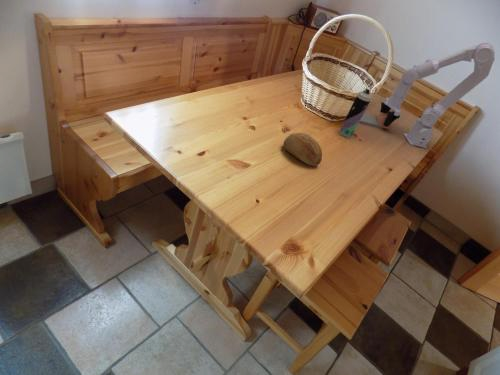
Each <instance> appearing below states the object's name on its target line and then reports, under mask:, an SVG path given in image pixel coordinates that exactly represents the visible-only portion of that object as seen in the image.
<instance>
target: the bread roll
mask: <svg viewBox="0 0 500 375" xmlns="http://www.w3.org/2000/svg"><path fill="white" fill-rule="evenodd" d="M283 148H284V150H285V151H287V152H288V153H289V154H291V155H292V156H294V157H295V158H297V159H298V160H299V161H301V162H303V163H305V164H306V165H309V166H313V167H314V166H315V167H316V166H319V165H321V162H322V158H323V150H322V148H321V146H320V144H319V143H318V141H317V140H316V139H315V138H313V137H312V136H311V135H309V134H307V133H304V132H293V133H290V134H289V135H288V136H287V137H286V138H285V139H284V141H283Z"/></svg>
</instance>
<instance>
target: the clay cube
mask: <svg viewBox="0 0 500 375" xmlns="http://www.w3.org/2000/svg"><path fill="white" fill-rule="evenodd" d="M386 117H387V114H386V113H382V112H380V111H379V113H378V115H377V117H376V119H377V121H378V123H379V124H380V127H379V128H383V129H387V130H388V129H389V127H390V126H391V124H392V123H391V124H390V125H389V126H388V127H385V126H383V125H384V122H385V120H386Z"/></svg>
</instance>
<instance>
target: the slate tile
mask: <svg viewBox="0 0 500 375" xmlns="http://www.w3.org/2000/svg"><path fill="white" fill-rule="evenodd" d="M358 124H362V125H364V126H369V127H374V128H378V129H379V128H381V127H380V124H379V123H378V121H377V117H376V116H375V115H373V114H370V113H366V112H364V114H363V116H362V118H361V120H360V122H359V123H358Z"/></svg>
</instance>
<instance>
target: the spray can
mask: <svg viewBox="0 0 500 375" xmlns="http://www.w3.org/2000/svg"><path fill="white" fill-rule="evenodd" d="M370 91H371V90H370V89H369V88H367V87H366V88H365V89H364V90H363V91H358V93H357V95H356V96H355V98H354V100H353V103H352V104H351V106H350V109H349V111H348V112H347V115H346V116H345V119H344V120H343V123H342V124H341V127H340V129H339V135H341V136H342V137H344V138H348V139H349V138H352V136H353V135H354V132H355V131H356V128H357V127H358V125H359V124H360V123H359V122H360V120H361V118H362V116H363V114H364V113H366V110H367V108H368V107H369V105H370V103H371V102H372V96H371V92H370Z"/></svg>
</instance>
